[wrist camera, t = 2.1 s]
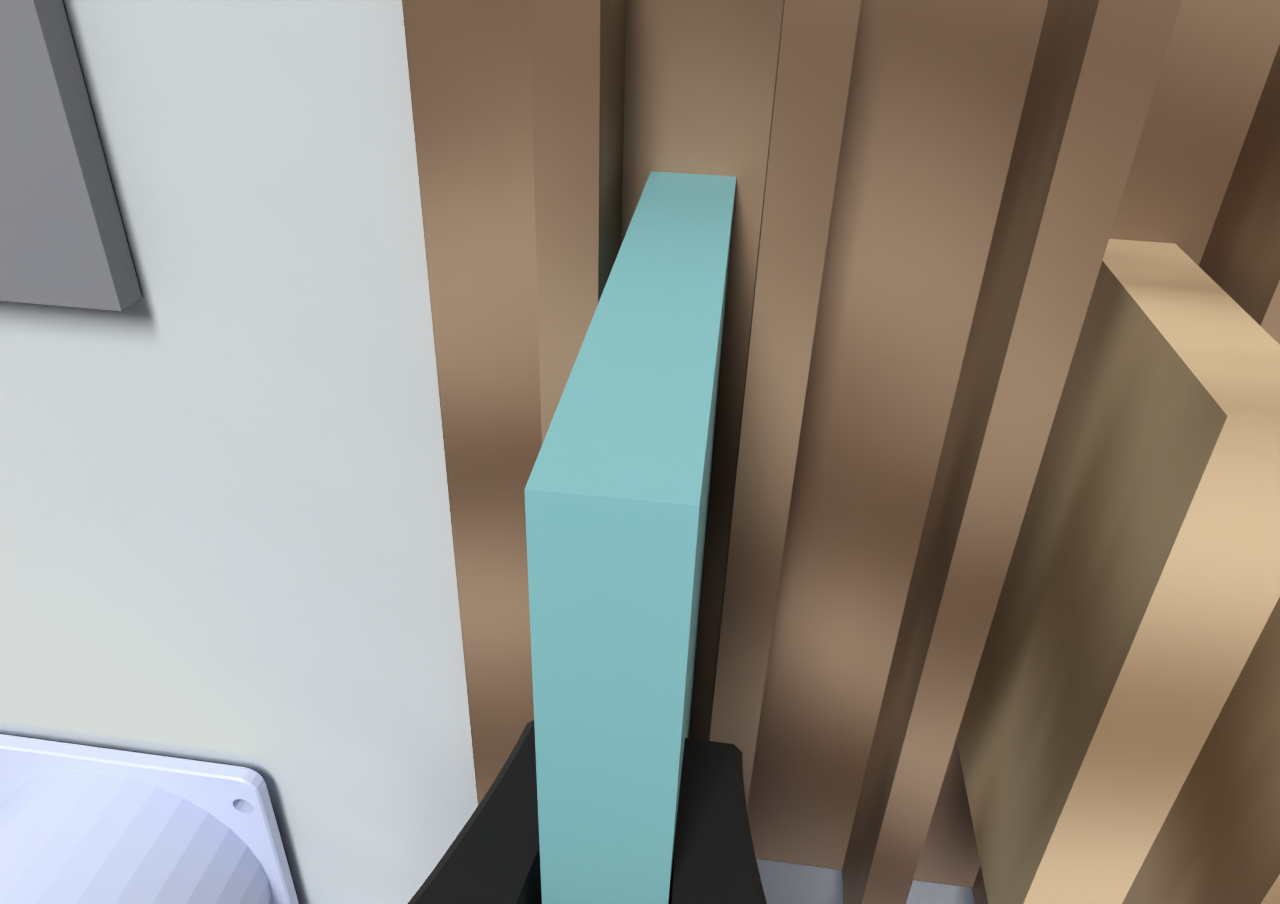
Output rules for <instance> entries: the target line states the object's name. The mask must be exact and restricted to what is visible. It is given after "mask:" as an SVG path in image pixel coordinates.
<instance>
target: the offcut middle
mask: <svg viewBox="0 0 1280 904" xmlns="http://www.w3.org/2000/svg"><path fill="white" fill-rule="evenodd" d="M1279 597H1280V344H1279V343H1277V342H1276V341H1275V340H1274V339H1273V338H1272V337H1271V336H1270V335H1269V334H1268V333H1267V332H1266V331H1265V330H1264V329H1263V328H1262V327H1261V326H1260V325H1259V324H1258V323H1257V322H1256V321H1255V320H1254V319H1253V318H1252V317H1251V316H1250V315H1249V314H1248V313H1246V312H1245V311H1244V310H1243V309H1242V308H1241V307H1240V306H1239V305H1238V304H1237V303H1236V302H1235V301H1234V300H1233V299H1232V298H1231V297H1230V296H1229V295H1228V294H1227V293H1226V292H1225V291H1224V290H1223V289H1222V288H1221V287H1220V286H1219V285H1218V284H1217V283H1215V282H1214V281H1213V280H1212V279H1211V278H1210V277H1209V276H1208V275H1207V274H1206V273H1205V272H1204V271H1203V270H1202V269H1201V268H1200V267H1199V266H1198V265H1197V264H1196V263H1195V262H1194V261H1193V260H1192V259H1191V258H1190V257H1189V256H1188V255H1187V254H1186V253H1184V252H1183V251H1182V250H1181V249H1180V248H1179V247H1178V246H1177V245H1176V244H1175V243H1161V242H1147V241H1133V240H1119V239H1109V241H1108V244H1107V247H1106V250H1105V254H1104V257H1103V260H1102V263H1101V267H1100V270H1099V273H1098V277H1097V280H1096V283H1095V286H1094V290H1093V293H1092V296H1091V299H1090V303H1089V306H1088V309H1087V312H1086V316H1085V319H1084V322H1083V326H1082V329H1081V332H1080V335H1079V339H1078V342H1077V345H1076V348H1075V352H1074V355H1073V358H1072V361H1071V365H1070V368H1069V371H1068V375H1067V378H1066V381H1065V384H1064V388H1063V391H1062V394H1061V397H1060V401H1059V404H1058V407H1057V410H1056V414H1055V417H1054V420H1053V424H1052V427H1051V430H1050V433H1049V437H1048V440H1047V443H1046V446H1045V450H1044V453H1043V456H1042V459H1041V463H1040V466H1039V469H1038V473H1037V476H1036V479H1035V482H1034V486H1033V489H1032V492H1031V495H1030V499H1029V502H1028V505H1027V508H1026V512H1025V515H1024V518H1023V522H1022V525H1021V528H1020V531H1019V535H1018V538H1017V541H1016V544H1015V548H1014V551H1013V554H1012V558H1011V561H1010V564H1009V567H1008V571H1007V574H1006V577H1005V580H1004V584H1003V587H1002V590H1001V593H1000V597H999V600H998V603H997V607H996V610H995V613H994V616H993V620H992V623H991V626H990V629H989V633H988V636H987V639H986V642H985V646H984V649H983V652H982V656H981V659H980V662H979V665H978V669H977V672H976V675H975V678H974V682H973V685H972V688H971V691H970V695H969V698H968V701H967V705H966V708H965V711H964V714H963V718H962V721H961V724H960V727H959V731H958V734H957V737H956V740H957V745H958V750H959V755H960V761H961V766H962V771H963V776H964V781H965V786H966V792H967V797H968V802H969V807H970V812H971V817H972V823H973V828H974V833H975V838H976V843H977V848H978V854H979V859H980V864H981V869H982V874H983V879H984V885H985V890H986V895H987V900H988V904H1122V903H1123V901H1124V899H1125V897H1126V895H1127V893H1128V891H1129V889H1130V887H1131V885H1132V883H1133V881H1134V879H1135V877H1136V876H1137V874H1138V872H1139V870H1140V868H1141V866H1142V864H1143V862H1144V860H1145V858H1146V856H1147V854H1148V852H1149V850H1150V848H1151V846H1152V844H1153V842H1154V840H1155V838H1156V837H1157V835H1158V833H1159V831H1160V829H1161V827H1162V825H1163V823H1164V821H1165V819H1166V817H1167V815H1168V813H1169V811H1170V809H1171V807H1172V805H1173V803H1174V801H1175V800H1176V798H1177V796H1178V794H1179V792H1180V790H1181V788H1182V786H1183V784H1184V782H1185V780H1186V778H1187V776H1188V774H1189V772H1190V770H1191V768H1192V766H1193V764H1194V763H1195V761H1196V759H1197V757H1198V755H1199V753H1200V751H1201V749H1202V747H1203V745H1204V743H1205V741H1206V739H1207V737H1208V735H1209V733H1210V731H1211V729H1212V727H1213V726H1214V724H1215V722H1216V720H1217V718H1218V716H1219V714H1220V712H1221V710H1222V708H1223V706H1224V704H1225V702H1226V700H1227V698H1228V696H1229V694H1230V692H1231V690H1232V689H1233V687H1234V685H1235V683H1236V681H1237V679H1238V677H1239V675H1240V673H1241V671H1242V669H1243V667H1244V665H1245V663H1246V661H1247V659H1248V657H1249V655H1250V653H1251V651H1252V650H1253V648H1254V646H1255V644H1256V642H1257V640H1258V638H1259V636H1260V634H1261V632H1262V630H1263V628H1264V626H1265V624H1266V622H1267V620H1268V618H1269V616H1270V614H1271V613H1272V611H1273V609H1274V607H1275V605H1276V603H1277V601H1278V599H1279Z"/></svg>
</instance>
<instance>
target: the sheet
mask: <svg viewBox="0 0 1280 904" xmlns="http://www.w3.org/2000/svg"><path fill="white" fill-rule="evenodd" d="M735 188H736V177H734V176H719V175H704V174H688V173H672V172H656V171H651V172H650V174H649V177H648V180H647V182H646V185H645V187H644V190H643V192H642V195H641V197H640V200H639V202H638V205H637V207H636V210H635V212H634V215H633V217H632V220H631V222H630V225H629V227H628V230H627V232H626V235H625V237H624V240H623V243H622V245H621V248H620V250H619V253H618V255H617V258H616V260H615V263H614V265H613V268H612V270H611V273H610V275H609V278H608V280H607V283H606V285H605V288H604V290H603V293H602V295H601V298H600V300H599V303H598V305H597V308H596V311H595V313H594V316H593V318H592V321H591V323H590V326H589V328H588V331H587V333H586V336H585V338H584V341H583V343H582V346H581V348H580V351H579V353H578V356H577V358H576V361H575V363H574V366H573V368H572V371H571V374H570V376H569V379H568V381H567V384H566V386H565V389H564V391H563V394H562V396H561V399H560V401H559V404H558V406H557V409H556V411H555V414H554V416H553V419H552V421H551V424H550V426H549V429H548V431H547V434H546V437H545V439H544V442H543V444H542V447H541V449H540V452H539V454H538V457H537V459H536V462H535V464H534V467H533V469H532V472H531V474H530V477H529V479H528V482H527V484H526V487H525V489H524V491H525V515H526V538H527V562H528V586H529V609H530V633H531V657H532V680H533V704H534V728H535V751H536V775H537V799H538V822H539V846H540V870H541V893H542V904H669V901H670V888H671V876H672V863H673V851H674V840H675V830H676V821H677V811H678V801H679V791H680V781H681V772H682V762H683V753H684V743H685V738H689V729H690V718H691V706H692V694H693V682H694V671H695V659H696V647H697V635H698V623H699V612H700V600H701V588H702V576H703V565H704V553H705V541H706V529H707V518H708V506H709V494H710V482H711V470H712V459H713V447H714V435H715V423H716V412H717V400H718V388H719V376H720V364H721V353H722V341H723V329H724V317H725V306H726V294H727V282H728V270H729V258H730V247H731V235H732V223H733V211H734V200H735Z"/></svg>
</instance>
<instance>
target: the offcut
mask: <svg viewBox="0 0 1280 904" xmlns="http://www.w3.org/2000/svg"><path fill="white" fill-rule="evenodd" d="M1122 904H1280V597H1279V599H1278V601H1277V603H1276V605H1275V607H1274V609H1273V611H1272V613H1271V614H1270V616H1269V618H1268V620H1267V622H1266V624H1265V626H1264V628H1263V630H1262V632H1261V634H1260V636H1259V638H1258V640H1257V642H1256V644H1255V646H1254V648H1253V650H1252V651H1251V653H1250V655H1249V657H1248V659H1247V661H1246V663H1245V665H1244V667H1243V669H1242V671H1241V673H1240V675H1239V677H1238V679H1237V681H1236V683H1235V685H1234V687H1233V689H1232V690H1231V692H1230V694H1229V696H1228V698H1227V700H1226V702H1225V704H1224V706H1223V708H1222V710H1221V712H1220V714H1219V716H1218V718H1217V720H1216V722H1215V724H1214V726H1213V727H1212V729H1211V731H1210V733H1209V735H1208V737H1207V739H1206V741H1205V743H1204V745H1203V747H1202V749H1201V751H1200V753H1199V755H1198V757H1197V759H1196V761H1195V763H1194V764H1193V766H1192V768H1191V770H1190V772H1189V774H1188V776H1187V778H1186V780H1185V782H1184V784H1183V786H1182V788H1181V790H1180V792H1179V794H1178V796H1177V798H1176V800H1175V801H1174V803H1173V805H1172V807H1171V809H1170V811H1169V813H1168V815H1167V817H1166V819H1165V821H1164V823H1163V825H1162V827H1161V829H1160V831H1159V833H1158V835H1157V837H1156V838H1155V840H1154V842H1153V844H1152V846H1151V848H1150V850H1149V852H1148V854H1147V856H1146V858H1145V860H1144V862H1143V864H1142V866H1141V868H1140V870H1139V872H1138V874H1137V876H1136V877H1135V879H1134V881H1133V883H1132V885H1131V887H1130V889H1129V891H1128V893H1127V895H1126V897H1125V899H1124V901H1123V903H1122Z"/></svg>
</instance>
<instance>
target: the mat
mask: <svg viewBox="0 0 1280 904" xmlns="http://www.w3.org/2000/svg"><path fill="white" fill-rule="evenodd" d="M141 298H142V295H141V291H140V288H139V284H138V280H137V277H136V273H135V269H134V265H133V262H132V258H131V254H130V250H129V247H128V243H127V239H126V236H125V232H124V228H123V224H122V221H121V217H120V213H119V210H118V206H117V202H116V198H115V195H114V191H113V187H112V184H111V180H110V176H109V172H108V169H107V165H106V161H105V158H104V154H103V150H102V146H101V143H100V139H99V135H98V132H97V128H96V124H95V120H94V117H93V113H92V109H91V105H90V102H89V98H88V94H87V91H86V87H85V83H84V79H83V76H82V72H81V68H80V65H79V61H78V57H77V53H76V50H75V46H74V42H73V39H72V35H71V31H70V27H69V24H68V20H67V16H66V13H65V9H64V5H63V1H62V0H0V301H9V302H21V303H32V304H44V305H55V306H67V307H78V308H89V309H101V310H112V311H123V310H124V309H126V308H127V307H129V306H130V305H132V304H133V303H135V302H136V301H138V300H139V299H141Z"/></svg>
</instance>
